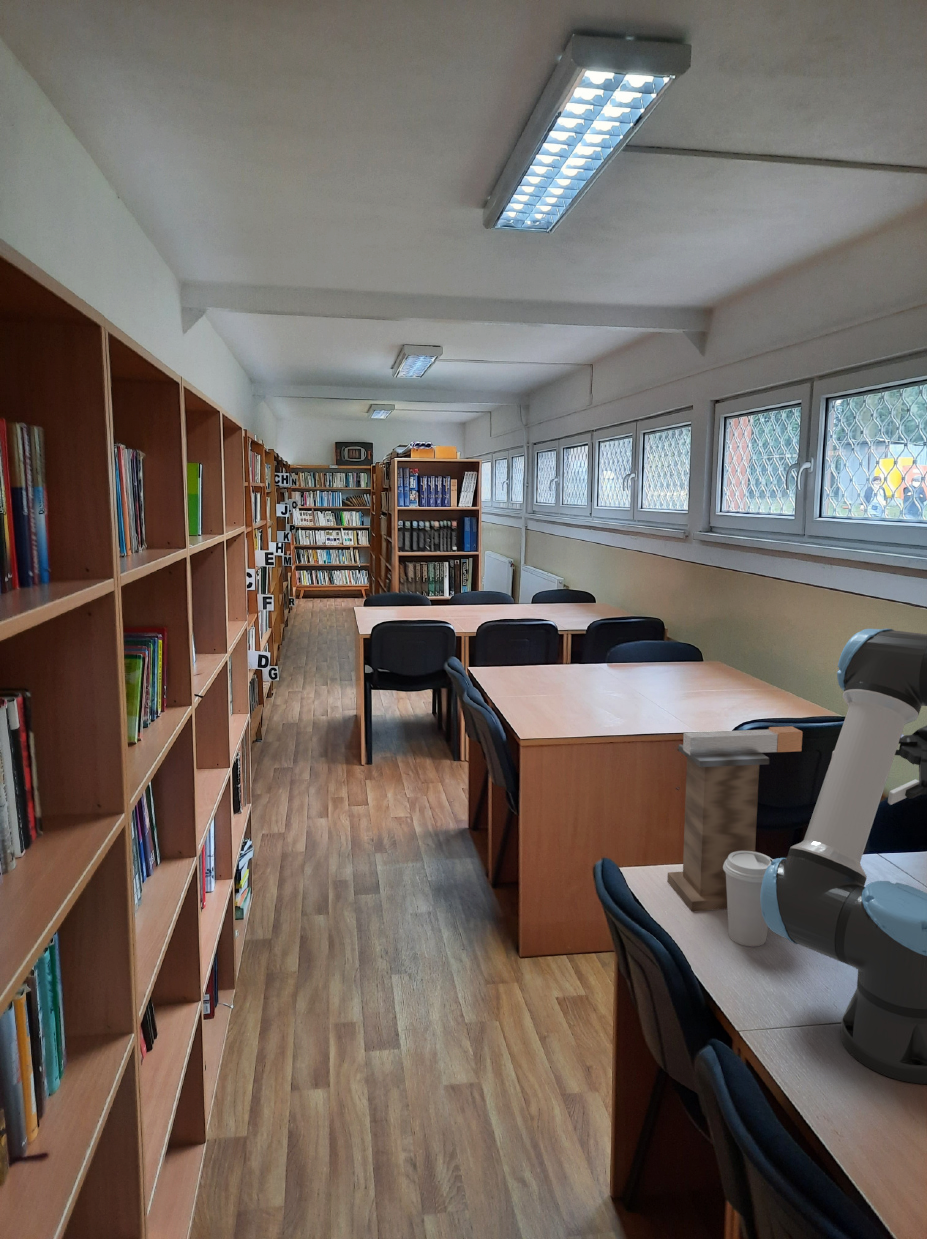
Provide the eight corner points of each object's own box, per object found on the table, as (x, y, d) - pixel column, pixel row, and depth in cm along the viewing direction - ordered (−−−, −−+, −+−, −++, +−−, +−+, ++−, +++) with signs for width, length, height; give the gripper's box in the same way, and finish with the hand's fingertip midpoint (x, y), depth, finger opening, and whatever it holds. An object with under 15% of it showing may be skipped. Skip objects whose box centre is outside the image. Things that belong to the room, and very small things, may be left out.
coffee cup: (769, 956, 146) (773, 875, 144) (714, 942, 151) (717, 863, 149) (779, 932, 154) (783, 855, 152) (726, 919, 159) (729, 844, 157)
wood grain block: (791, 745, 169) (792, 726, 169) (801, 751, 165) (802, 731, 165) (682, 749, 167) (683, 730, 166) (690, 755, 163) (691, 735, 162)
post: (739, 877, 177) (746, 740, 173) (769, 906, 164) (776, 759, 160) (667, 881, 175) (672, 743, 171) (691, 911, 162) (697, 762, 158)
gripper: (997, 791, 156) (913, 832, 150) (887, 723, 177) (809, 757, 170) (1005, 759, 153) (919, 800, 146) (892, 694, 173) (813, 727, 167)
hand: (860, 777), depth 158 cm, fingers open, 13 cm apart
